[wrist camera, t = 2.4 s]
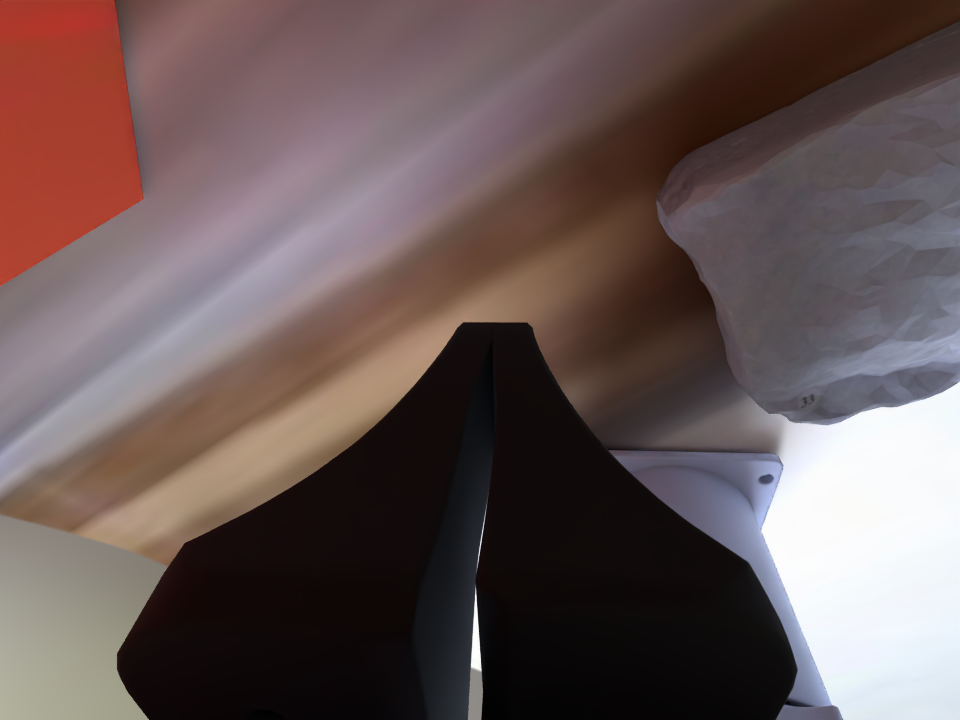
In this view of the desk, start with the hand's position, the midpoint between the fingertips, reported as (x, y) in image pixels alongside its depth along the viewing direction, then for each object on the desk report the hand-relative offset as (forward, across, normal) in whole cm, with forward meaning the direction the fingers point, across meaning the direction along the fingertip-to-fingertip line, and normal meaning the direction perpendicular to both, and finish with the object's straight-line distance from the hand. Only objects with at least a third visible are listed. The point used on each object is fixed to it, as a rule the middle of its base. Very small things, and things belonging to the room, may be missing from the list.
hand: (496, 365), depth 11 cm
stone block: (+8, -11, 0) cm, 14 cm away
